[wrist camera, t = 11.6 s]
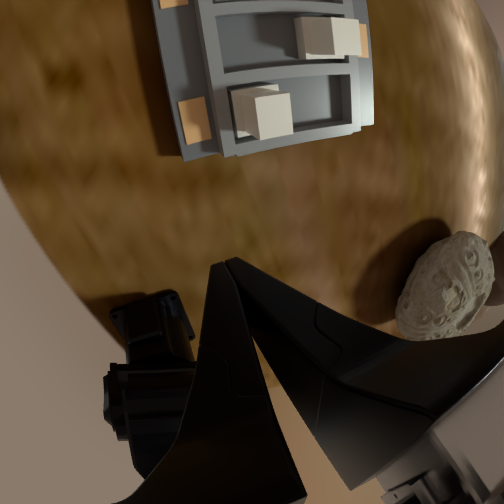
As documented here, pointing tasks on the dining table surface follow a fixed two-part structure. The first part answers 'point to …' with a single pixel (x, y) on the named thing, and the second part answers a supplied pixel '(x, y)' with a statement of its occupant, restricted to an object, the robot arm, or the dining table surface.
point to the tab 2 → (327, 37)
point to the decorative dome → (497, 274)
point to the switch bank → (258, 71)
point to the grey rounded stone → (445, 288)
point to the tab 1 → (260, 111)
